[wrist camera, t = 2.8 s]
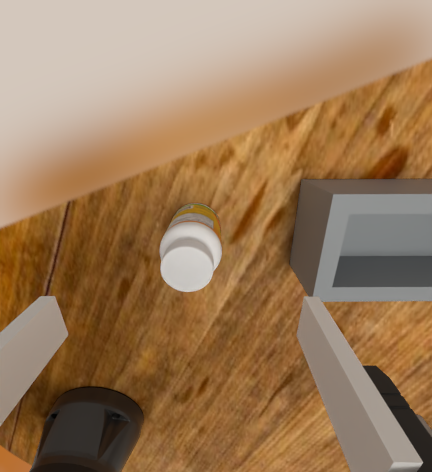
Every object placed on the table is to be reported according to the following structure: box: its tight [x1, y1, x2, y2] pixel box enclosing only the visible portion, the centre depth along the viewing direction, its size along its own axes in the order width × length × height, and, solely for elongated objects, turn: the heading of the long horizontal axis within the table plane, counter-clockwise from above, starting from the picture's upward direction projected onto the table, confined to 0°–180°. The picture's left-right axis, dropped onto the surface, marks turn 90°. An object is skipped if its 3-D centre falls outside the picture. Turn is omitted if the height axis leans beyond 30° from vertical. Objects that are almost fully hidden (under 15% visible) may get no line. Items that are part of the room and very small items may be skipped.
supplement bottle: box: [160, 203, 222, 292], centre depth 21 cm, size 5×5×10 cm
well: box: [290, 179, 432, 302], centre depth 23 cm, size 22×10×7 cm, turn 90°
